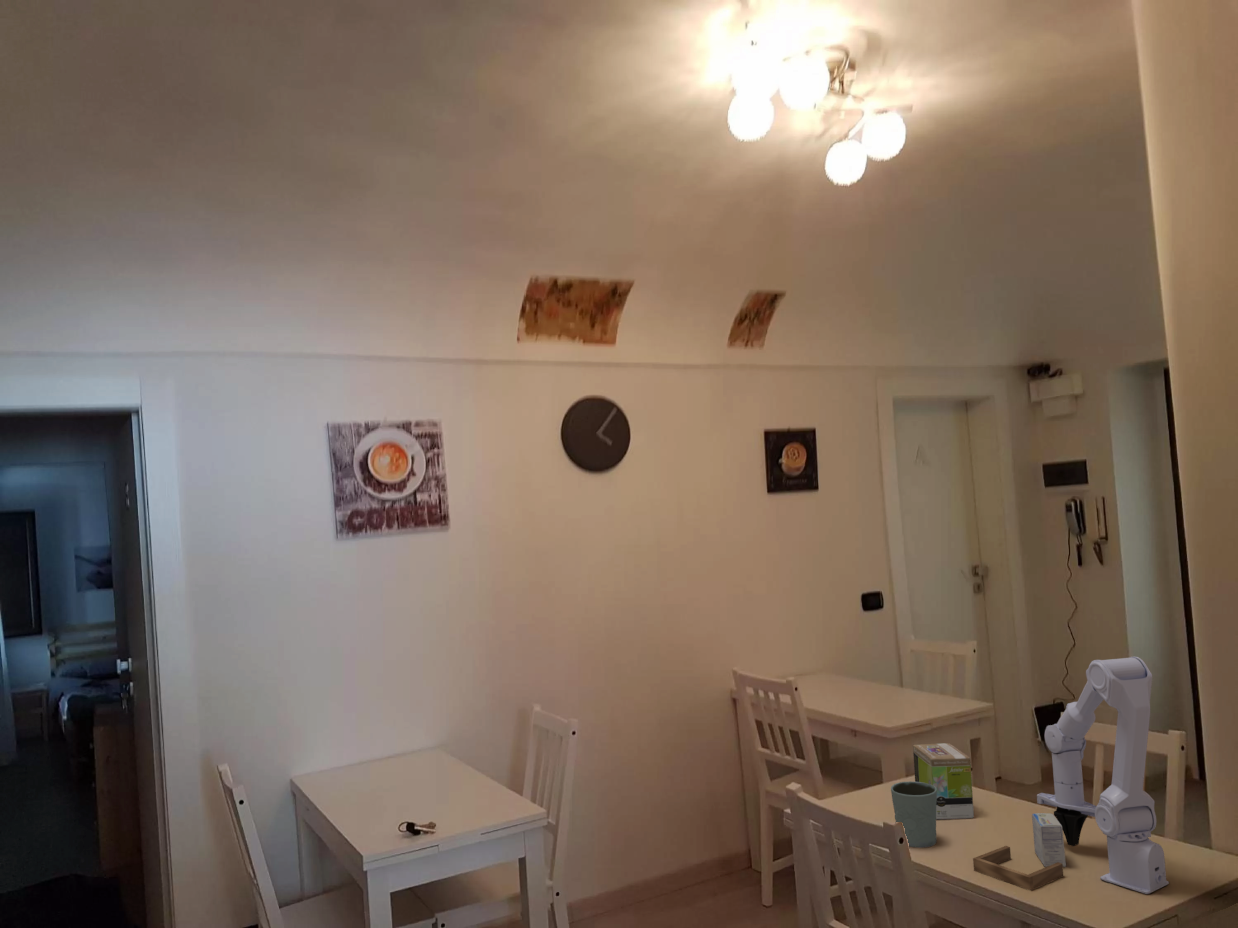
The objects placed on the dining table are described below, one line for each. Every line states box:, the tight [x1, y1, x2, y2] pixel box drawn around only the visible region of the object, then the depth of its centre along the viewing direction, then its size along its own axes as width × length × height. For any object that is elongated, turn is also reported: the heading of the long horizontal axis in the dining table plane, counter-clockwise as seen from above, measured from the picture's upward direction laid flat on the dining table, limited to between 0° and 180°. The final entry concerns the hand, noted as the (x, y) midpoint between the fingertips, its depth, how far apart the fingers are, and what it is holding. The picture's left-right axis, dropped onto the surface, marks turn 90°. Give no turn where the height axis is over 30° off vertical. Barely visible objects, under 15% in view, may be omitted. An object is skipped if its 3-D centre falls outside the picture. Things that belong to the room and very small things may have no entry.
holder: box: [972, 845, 1064, 891], centre depth 190 cm, size 13×11×2 cm
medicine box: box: [1031, 812, 1067, 868], centre depth 196 cm, size 8×4×9 cm, turn 168°
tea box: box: [912, 742, 975, 820], centre depth 231 cm, size 15×10×15 cm, turn 179°
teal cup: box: [890, 781, 937, 849], centre depth 211 cm, size 10×10×12 cm
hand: (1073, 844), depth 200 cm, fingers closed
